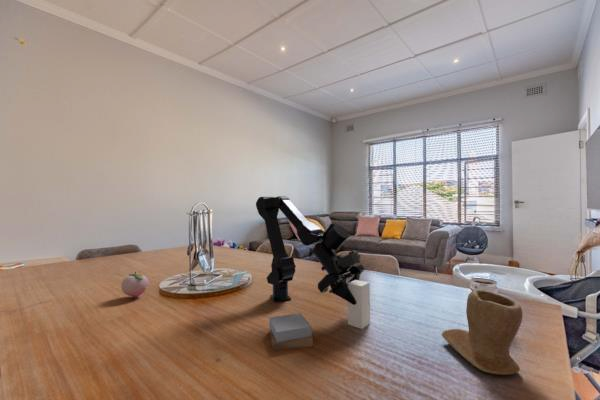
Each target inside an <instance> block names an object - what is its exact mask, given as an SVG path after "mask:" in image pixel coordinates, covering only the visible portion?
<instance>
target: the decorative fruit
mask: <svg viewBox="0 0 600 400" xmlns="http://www.w3.org/2000/svg"><path fill="white" fill-rule="evenodd" d="M148 287H149V279H148V277H147V276H145V275H143V274H137V273H136V271H134V273H129V274H128V276H126V277H125V278H124V279H123V280H122V282H121V291H122V292H123V293H124V295H127V296H128V297H129V296H130V297H132V298H133V297H134V298H135V297H136V298H138V297H140V296H141V295H143V294H144V293H145V292H146V290H147V289H148Z"/></svg>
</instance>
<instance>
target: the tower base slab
mask: <svg viewBox="0 0 600 400" xmlns="http://www.w3.org/2000/svg"><path fill="white" fill-rule="evenodd" d="M269 330H270V331H269V332H270V339H271V340H270V341H271V348H272V351H279V350H291V349H297V348H308V347H309V348H310V347H313V346H314V343H313V342H314V339H313V335H311V336H310V337H304V338H299V339H293V340H287V341H282V342H276V340H275V337H274V335H273V333H272V331H271V329H270V328H269Z"/></svg>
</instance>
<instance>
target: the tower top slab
mask: <svg viewBox="0 0 600 400" xmlns="http://www.w3.org/2000/svg"><path fill="white" fill-rule="evenodd" d="M268 319H269V321H268V322H269V323H268V324H269V325H268V326H269V330H270V329H271V331H272V333H273V335H274V337H275V340H276V342H282V341H287V340H293V339H299V338H304V337H310V336H312V326H311V324H310V323H309V322H308V320H307V319H306V318H305V317H304V316H303V314H302V312H297V313H290V314H284V315H277V316H270V317H269V318H268Z"/></svg>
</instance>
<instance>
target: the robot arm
mask: <svg viewBox="0 0 600 400" xmlns="http://www.w3.org/2000/svg"><path fill="white" fill-rule="evenodd" d="M255 207H256V209H257V212H258V215H259V216H260V217H261V218H262V219H263V220H264V225H265V227H266V231H267V236H268V240H269V244H270V248H271V253H272V261H271V265H270V267H271V271H270V273H269V274H268V275H267V277H266V281H267V284H270V285H272V294H270V295H269V297H270V299H271V300H272V301H273V302H274V303H277V302H283V301H290V300H292V297H291V296H290V295H289V282H292V281H293V279H294V276H295V273H296V267H297V265H296V264H295V260H294V257H293V256H292V255H291V256H290V255H288V254H287V251H286V248H285V247H286V246H285V243H284V240H283V236H282V232H281V229H280V224H279V219H278V215H279V211H281V213H282V214H283V215H284V216H285V217H286V219H288V220H289V222H290V223H291V224H292V225H293V227H294V228H295V230H296V235H297V237H298V239H299V240H300V242H301V244H303V246H313V245H314V247H311V248H309V253H308V257H309V258H311V257H312V258H313V257H315V258H316V259H317V261H318V262H319V263H320V264H321V268H320V269H321V271H325V272H326V273H327V274H326V275H324V277H323V278H321V280H320V281H319V282H318V283H317V290H318V291H319V292H320V294H325V293H326V292H328V293H330V294H331V293H332V294H334V295H336V296H338V297H339V298H342V299H343V300H345V301H347V303H348V302H350V303H351V304H353V305H355V304H356V303H357V302H356V300H355V298H354V297H353V295H352V293H351V292H350V290H349V289H348V283H349V282H352V281H354V280H359V281H360V277H361V275H362V273H363V272H364V271H365V270H366V268H365V267H364V266H363V264H360V263H361V254H360V253H359V252H358V251H357V250H355V249H354V250H352V251H349V252H348V255H345V256H344V255H343V256H342V255H341V254H336V252H335V251H336V250H339V249H340V248H341V247H342V245H343V244H345V242H346V241H347V240H348V239H349V237H350V233H349V231H348V230H347V229H346V228H344V227H343V226H341V225H340V224H338V223H337V222H331V223H330V225H329V226H328V228H327V229H326V230H323V229H322V228H321V227H319V226H318V225H317V224H316V223H313V222H311V221H310V220H308V219H307V218H306V217H305V216H304V215H303V213H301V211H300V210H299V209H298V208H297V207H296V206H295V205H294V204H293V203H292V201H291V200H290V198H289V197H288V196H284V195H278V196H276V197H275V196H260V197H258V199H257V200H256V202H255ZM334 250H335V251H334ZM329 287H330V289H329ZM328 289H329V290H328Z"/></svg>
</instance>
